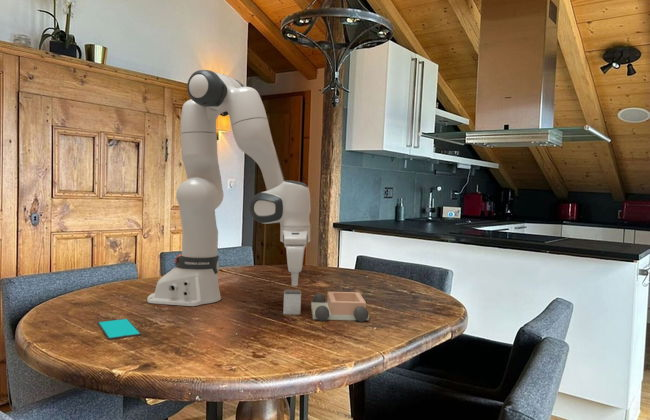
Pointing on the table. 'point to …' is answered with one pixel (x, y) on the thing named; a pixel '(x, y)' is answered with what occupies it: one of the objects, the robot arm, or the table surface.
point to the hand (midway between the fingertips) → (294, 282)
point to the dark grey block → (292, 302)
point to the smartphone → (118, 329)
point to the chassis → (339, 307)
